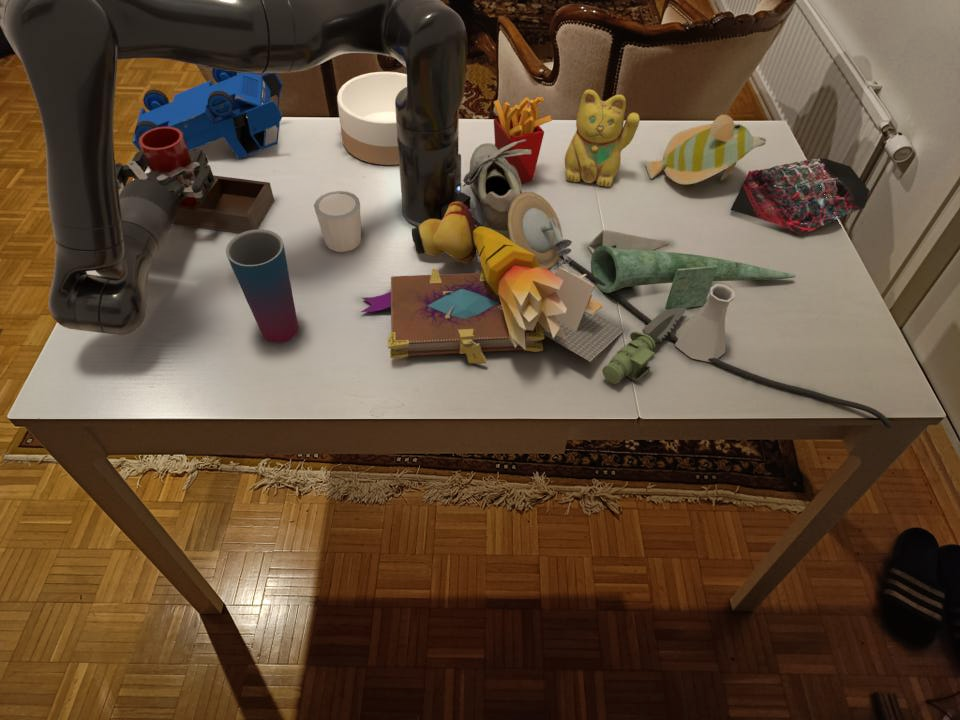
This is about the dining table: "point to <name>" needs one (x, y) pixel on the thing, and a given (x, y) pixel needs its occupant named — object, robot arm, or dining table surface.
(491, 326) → the book
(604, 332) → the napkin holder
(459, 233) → the toy
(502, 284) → the torch
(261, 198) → the caddy
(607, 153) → the figurine
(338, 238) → the shot glass
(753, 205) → the fabric swatch
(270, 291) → the cup
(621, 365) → the knife
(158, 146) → the tumbler
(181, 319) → the dining table surface
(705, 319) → the flask
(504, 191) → the shoe
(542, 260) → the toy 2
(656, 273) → the decorative horn
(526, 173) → the french fries
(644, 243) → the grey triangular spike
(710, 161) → the decorative fish sculpture
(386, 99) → the bowl
